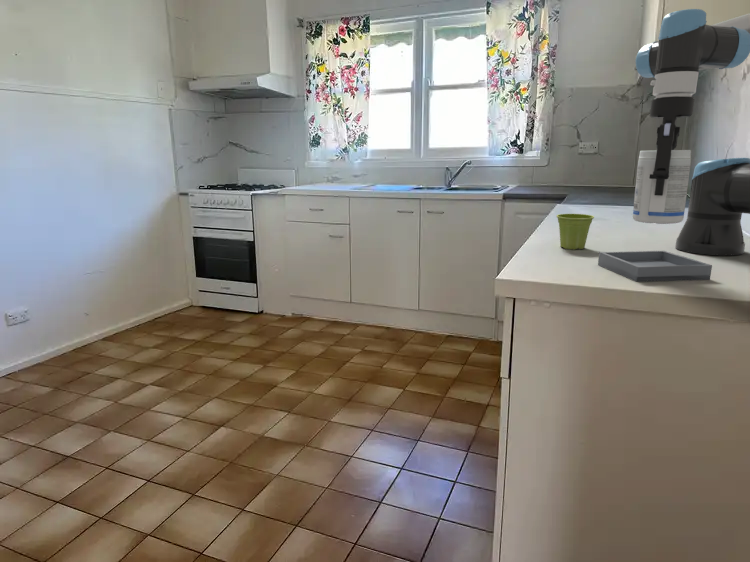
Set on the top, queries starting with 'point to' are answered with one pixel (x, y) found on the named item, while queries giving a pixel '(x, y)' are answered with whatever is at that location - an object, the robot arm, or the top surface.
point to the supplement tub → (674, 190)
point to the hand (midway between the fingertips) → (658, 209)
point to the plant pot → (574, 230)
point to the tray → (654, 266)
